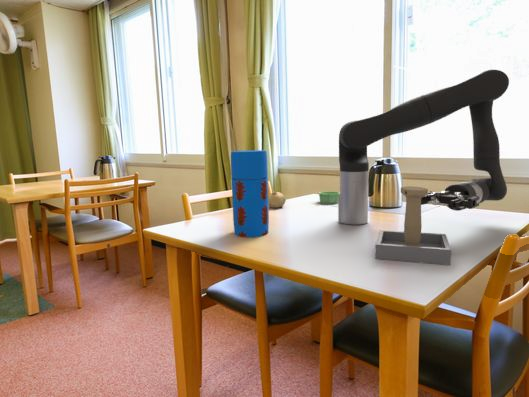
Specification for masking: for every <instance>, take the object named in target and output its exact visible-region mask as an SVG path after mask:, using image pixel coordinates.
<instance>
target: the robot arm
mask: <svg viewBox="0 0 529 397" xmlns="http://www.w3.org/2000/svg"><path fill="white" fill-rule="evenodd" d="M509 85H510V78H509V77H508V75H507V74H506V73H505V72H504V71H502V70H499V69H488V70H484V71H483V72H480V73H479V74H477V75H475V76H473V77H471V78H469V79H467V80H464V81H462V82H460V83H458V84H457V83H456V84H455V85H452V86H448V87H445V88H444V87H443V88H441V89H437V90H434V91H430V92H428V93H425V94H421V95H419V96H416V97H413V98H411V99H408V100H406V101H403V102H401V103H399V104H398V105H396V106H394V107H392V108H390V109H389V110H387V111H385V112H383V113H380V114H377V115H373V116H370V117H367V118H362V119H359V120H353V121H348V122H347V123H344V124H343V125H342V127H341V129H340V130H339V134H338V162H339V193H340V194H339V195H338V203H337V204H338V205H337V206H338V208H337V210H338V211H337V212H338V213H337V214H338V216H337V217H338V218H337V219H338V220H337V221H338V222H337V223H341V224H345V225H365V224H367V223H368V221H369V220H368V218H369V174H370V173H369V171H370V170H369V169H370V165H369V159H368V147H369V146H371V145H372V144H374V143H376V142H378V141H381V140H383V139H385V138H387V137H390V136H394V135H397V134H401V133H402V134H403V133H405V132H408V131H409V132H410V131H412V130H416V129H419V128H421V127H425V126H427V125H430V124H433V123H435V122H437V121H440V120H442V119H444V118H446V117H447V116H450V115H451V114H454V113H456V112H457V111H459V110H461V109H465V108H467V107H468V109H469V113H470V119H471V127H472V129H471V130H472V138H473V139H472V141H473V142H472V144H473V149H472V150H473V167H474V169H475V170H476V171H482V172H486V173H487V174H489V176H490V177H482V178H481V177H478V178H477V177H476V178H473V179H470V180H469V181H461V182H457V183H453V184H450V185H447V187H446V188H445V189H444V190H442V191H432V190H431V191H428V194H427V195H425V196H424V197H422V198H421V206H423V205H427V204H429V205H430V204H431V205H434V206H445V207H447V208H449V209H450V210H452V211H458V212H459V211H463V210H467V209H469V210H472V209H474V208H477V207H480V204H482V203H484V202H485V201H502V200H504V198H505V197H506V195H507V193H508V187H507V183H506V181H505V178H504V175H503V171H502V167H501V163H500V159H501V158H500V156H501V154H500V153H501V152H500V140H499V135H498V132H497V131H496V127H495V124H494V120H493V107H494V106H493V105H494V101H496V100H498V99H499V98H500V97H502V96H503V95H504V94H505V93H506V92H507V90H508V88H509Z"/></svg>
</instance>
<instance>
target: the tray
mask: <svg viewBox="0 0 529 397" xmlns="http://www.w3.org/2000/svg"><path fill="white" fill-rule="evenodd" d="M376 239H377V240H376V242H375V260H385V261H397V262H398V261H399V262H408V261H412V262H411V263H420V262H424V263H423V264H431V263H435V264H434V265H443V264H445V266H451V259H452V249H451V246H450V243H449V239H448V237H447V234H446V233H437V232H436V233H434V232H421V238H420V242H419V246H407V245H405V239H404V230H403V231H399V230H385V229H383V230H381V229H379V232H378V235H377V238H376Z"/></svg>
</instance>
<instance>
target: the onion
mask: <svg viewBox="0 0 529 397" xmlns="http://www.w3.org/2000/svg"><path fill="white" fill-rule="evenodd" d="M286 201H287V200H286V196H285V195H284V194H283V193H282V192H279V191H272V192H271V193H270V194H269V193H268V208H273V209H275V208H282V207H284V205H285V203H286Z"/></svg>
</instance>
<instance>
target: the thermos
mask: <svg viewBox="0 0 529 397" xmlns="http://www.w3.org/2000/svg"><path fill="white" fill-rule="evenodd" d="M230 170H231V190H232V191H231V192H232V193H231V195H232V197H231V198H232V219H233V220H232V221H233V231H234V235H235V236H237V237H240V238H256V237H257V238H259V237H263V236H266V235H268V233H269V227H270V226H269V225H270V224H269V223H270V222H269V221H270V220H269V219H270V217H269V206H268V195H269V181H268V180H269V179H268V178H269V177H268V154H267V150H262V149H261V150H236V151H235V150H232V151H231V152H230Z"/></svg>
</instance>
